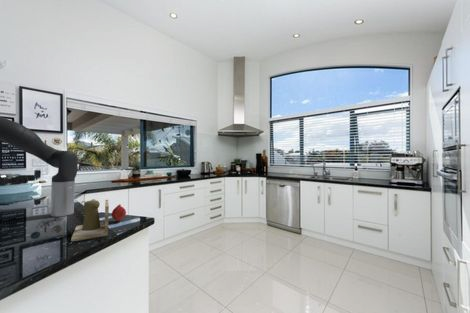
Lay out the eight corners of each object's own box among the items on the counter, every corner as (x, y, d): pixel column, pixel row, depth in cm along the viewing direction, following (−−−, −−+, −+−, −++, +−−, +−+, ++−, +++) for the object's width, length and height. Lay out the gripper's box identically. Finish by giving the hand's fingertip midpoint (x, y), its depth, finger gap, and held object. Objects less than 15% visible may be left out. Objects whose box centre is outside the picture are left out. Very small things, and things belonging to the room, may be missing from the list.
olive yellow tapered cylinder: (90, 231, 78) (91, 202, 78) (78, 230, 79) (78, 201, 79) (104, 226, 84) (104, 199, 84) (91, 225, 85) (92, 198, 85)
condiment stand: (76, 228, 84) (77, 202, 85) (107, 224, 90) (108, 199, 91) (71, 241, 71) (72, 210, 71) (107, 235, 77) (108, 206, 77)
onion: (110, 224, 91) (110, 206, 91) (112, 220, 96) (112, 203, 96) (125, 222, 93) (125, 205, 93) (126, 219, 98) (126, 202, 99)
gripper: (-56, 169, 57) (25, 169, 66) (-29, 167, 69) (37, 167, 78) (-57, 196, 57) (24, 192, 66) (-30, 189, 69) (36, 187, 78)
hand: (31, 179), depth 72 cm, fingers open, 8 cm apart
